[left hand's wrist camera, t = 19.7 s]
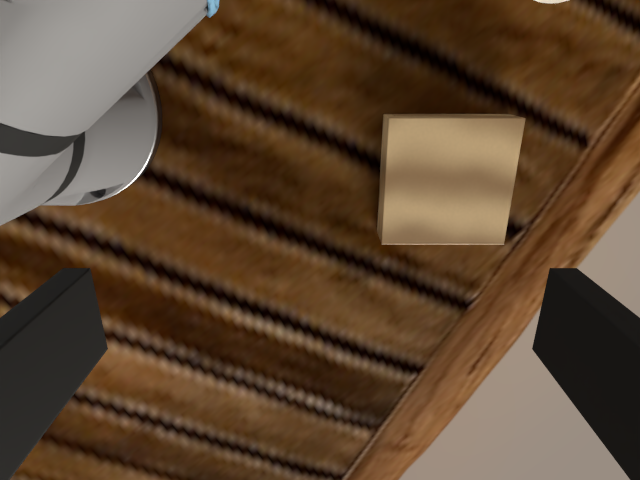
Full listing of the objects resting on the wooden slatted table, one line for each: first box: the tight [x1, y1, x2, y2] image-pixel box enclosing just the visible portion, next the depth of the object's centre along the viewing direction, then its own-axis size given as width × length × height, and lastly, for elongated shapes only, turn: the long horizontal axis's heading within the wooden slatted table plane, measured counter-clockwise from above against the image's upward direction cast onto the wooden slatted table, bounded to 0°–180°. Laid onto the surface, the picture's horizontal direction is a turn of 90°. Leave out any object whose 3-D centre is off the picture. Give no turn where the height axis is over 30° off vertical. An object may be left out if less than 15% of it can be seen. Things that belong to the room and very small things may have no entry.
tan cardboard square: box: [377, 114, 525, 244], centre depth 35 cm, size 10×10×3 cm
